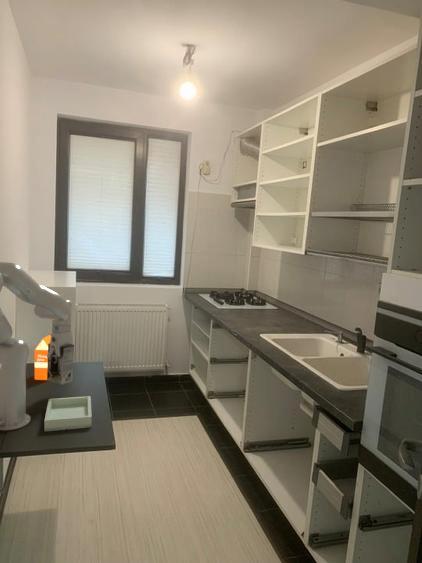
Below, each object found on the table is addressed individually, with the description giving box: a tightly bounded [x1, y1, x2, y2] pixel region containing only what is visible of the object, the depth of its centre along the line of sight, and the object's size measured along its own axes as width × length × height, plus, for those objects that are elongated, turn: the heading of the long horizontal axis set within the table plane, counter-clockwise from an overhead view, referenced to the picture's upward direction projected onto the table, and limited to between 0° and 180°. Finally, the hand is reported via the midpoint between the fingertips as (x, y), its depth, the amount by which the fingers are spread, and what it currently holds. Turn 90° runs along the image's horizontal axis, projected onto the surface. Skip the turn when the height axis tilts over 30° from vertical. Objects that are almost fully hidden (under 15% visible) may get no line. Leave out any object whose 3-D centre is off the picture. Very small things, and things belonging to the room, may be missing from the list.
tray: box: [43, 395, 93, 432], centre depth 155 cm, size 20×16×4 cm
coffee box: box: [46, 343, 75, 385], centre depth 173 cm, size 9×6×16 cm
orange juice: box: [34, 334, 51, 381], centre depth 197 cm, size 8×9×20 cm
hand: (60, 369), depth 174 cm, fingers closed on coffee box, 7 cm apart
